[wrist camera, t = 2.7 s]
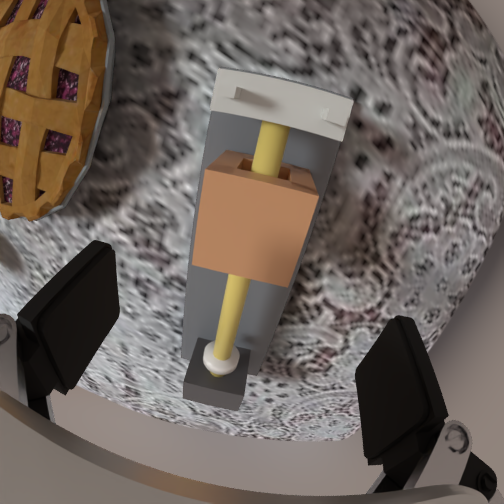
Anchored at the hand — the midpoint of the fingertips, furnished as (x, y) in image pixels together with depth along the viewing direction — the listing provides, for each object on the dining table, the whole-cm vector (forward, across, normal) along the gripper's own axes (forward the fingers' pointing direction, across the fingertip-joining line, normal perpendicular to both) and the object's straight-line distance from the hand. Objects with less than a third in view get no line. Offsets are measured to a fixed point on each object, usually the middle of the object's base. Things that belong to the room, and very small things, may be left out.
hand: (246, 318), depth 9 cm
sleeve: (+10, +1, 0) cm, 10 cm away
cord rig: (+12, +1, +5) cm, 13 cm away
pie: (+12, +22, -6) cm, 25 cm away
